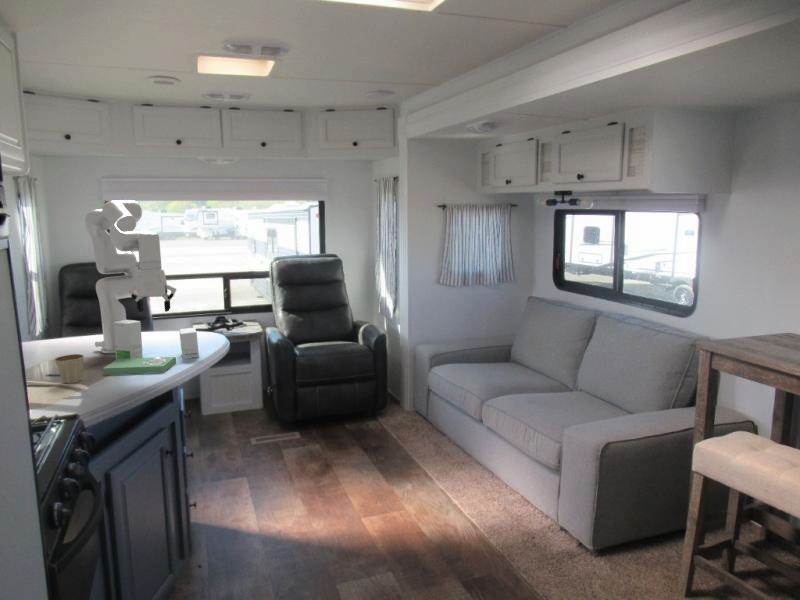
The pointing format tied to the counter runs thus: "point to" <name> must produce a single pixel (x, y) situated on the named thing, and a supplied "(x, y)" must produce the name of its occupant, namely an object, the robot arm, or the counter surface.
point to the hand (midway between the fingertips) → (154, 311)
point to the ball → (157, 360)
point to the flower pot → (70, 367)
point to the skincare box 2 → (189, 342)
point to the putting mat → (138, 365)
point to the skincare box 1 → (128, 339)
